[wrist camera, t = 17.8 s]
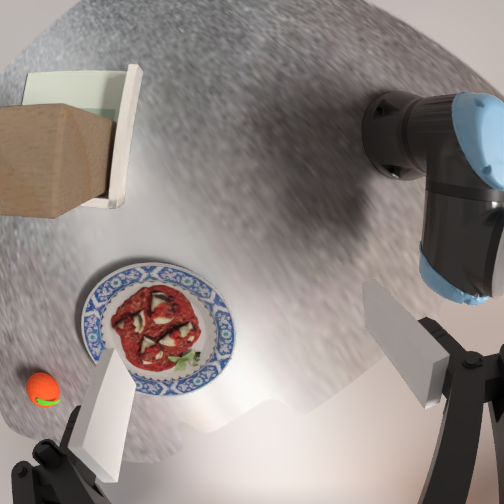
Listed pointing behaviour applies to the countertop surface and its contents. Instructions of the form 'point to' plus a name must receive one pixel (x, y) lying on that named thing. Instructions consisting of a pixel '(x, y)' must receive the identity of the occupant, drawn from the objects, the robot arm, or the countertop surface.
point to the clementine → (43, 390)
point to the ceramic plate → (160, 327)
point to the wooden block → (52, 158)
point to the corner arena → (96, 112)
